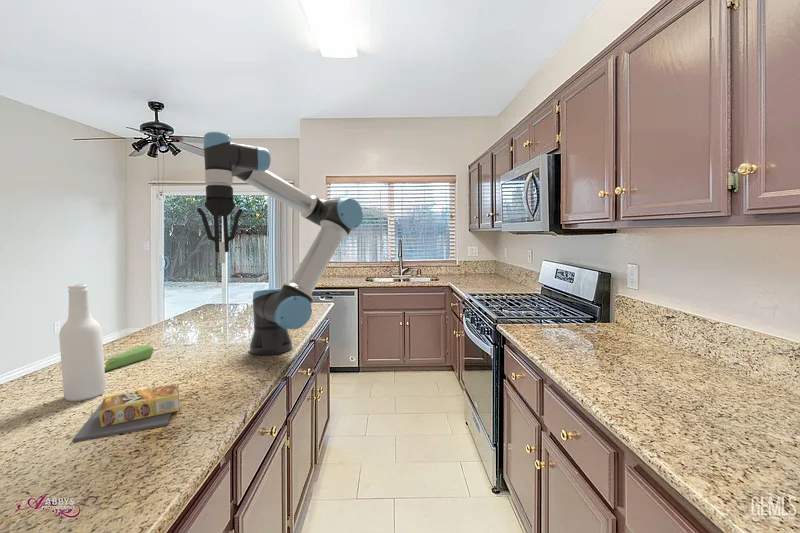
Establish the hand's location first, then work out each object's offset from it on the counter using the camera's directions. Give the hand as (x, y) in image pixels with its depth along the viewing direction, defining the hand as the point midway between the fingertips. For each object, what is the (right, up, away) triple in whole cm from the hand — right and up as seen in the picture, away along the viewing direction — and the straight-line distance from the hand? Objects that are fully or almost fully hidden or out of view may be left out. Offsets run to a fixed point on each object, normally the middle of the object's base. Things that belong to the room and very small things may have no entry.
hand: (222, 262), depth 119 cm
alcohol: (-30, -36, -15) cm, 49 cm away
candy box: (0, -34, -23) cm, 41 cm away
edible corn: (-38, -35, +11) cm, 52 cm away
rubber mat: (-9, -37, -27) cm, 46 cm away
